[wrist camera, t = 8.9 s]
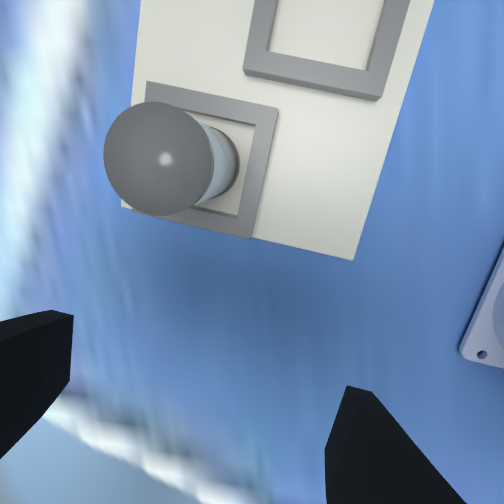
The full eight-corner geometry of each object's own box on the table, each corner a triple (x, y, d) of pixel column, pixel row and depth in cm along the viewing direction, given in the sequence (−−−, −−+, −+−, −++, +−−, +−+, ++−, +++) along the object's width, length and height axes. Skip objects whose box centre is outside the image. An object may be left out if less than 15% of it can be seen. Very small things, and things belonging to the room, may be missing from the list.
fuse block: (438, -39, 13) (466, -77, 11) (348, 254, 17) (357, 266, 15) (163, -88, 14) (140, -133, 12) (132, 203, 18) (110, 208, 15)
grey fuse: (246, 135, 15) (218, 114, 9) (232, 205, 16) (199, 226, 10) (178, 120, 15) (108, 91, 9) (168, 190, 16) (99, 203, 10)
